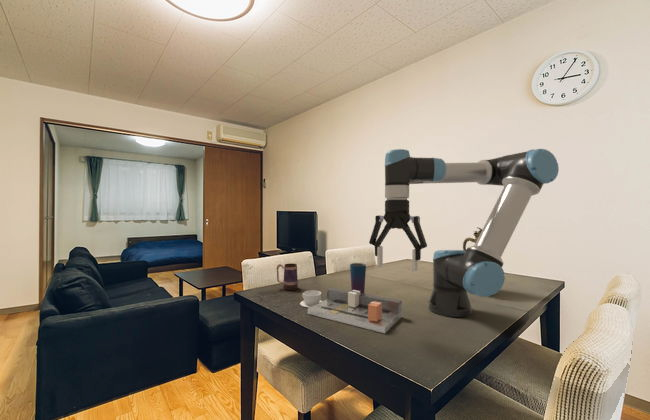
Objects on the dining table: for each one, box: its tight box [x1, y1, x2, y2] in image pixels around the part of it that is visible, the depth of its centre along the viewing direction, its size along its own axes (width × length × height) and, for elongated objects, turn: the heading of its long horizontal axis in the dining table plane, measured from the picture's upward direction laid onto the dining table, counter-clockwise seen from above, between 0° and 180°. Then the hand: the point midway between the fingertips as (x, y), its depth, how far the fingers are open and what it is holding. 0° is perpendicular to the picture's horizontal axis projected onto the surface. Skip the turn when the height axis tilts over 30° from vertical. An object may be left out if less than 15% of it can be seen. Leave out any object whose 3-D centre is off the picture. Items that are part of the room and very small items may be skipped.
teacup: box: [299, 289, 323, 308], centre depth 118 cm, size 10×10×5 cm
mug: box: [276, 263, 299, 291], centre depth 140 cm, size 10×7×12 cm
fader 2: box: [368, 301, 382, 322], centre depth 96 cm, size 3×4×5 cm
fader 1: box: [348, 290, 360, 307], centre depth 109 cm, size 3×4×5 cm
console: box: [307, 287, 403, 334], centre depth 105 cm, size 30×16×6 cm, turn 57°
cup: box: [349, 262, 367, 294], centre depth 123 cm, size 7×7×15 cm
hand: (396, 268), depth 92 cm, fingers open, 11 cm apart
